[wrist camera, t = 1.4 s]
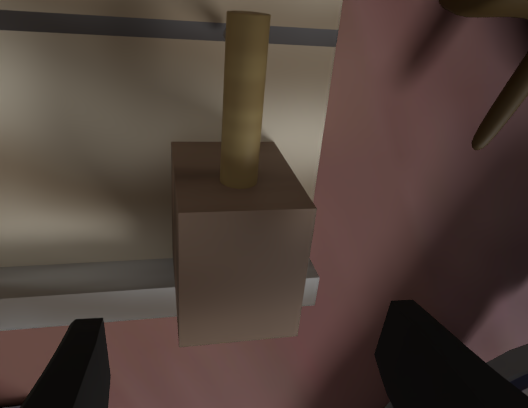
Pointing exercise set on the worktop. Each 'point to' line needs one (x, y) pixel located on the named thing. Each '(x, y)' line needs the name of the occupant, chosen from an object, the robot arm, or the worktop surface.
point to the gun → (510, 368)
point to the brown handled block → (239, 213)
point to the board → (130, 140)
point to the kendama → (521, 82)
